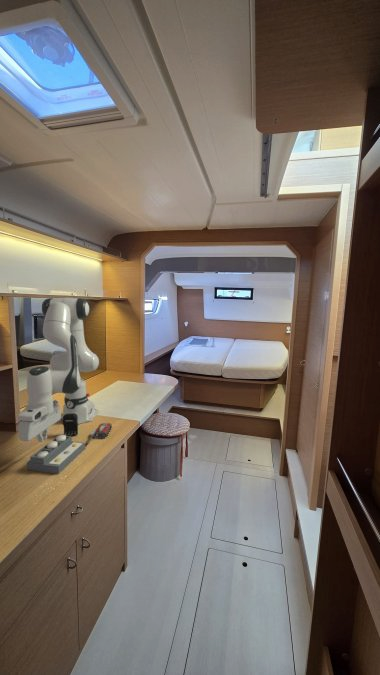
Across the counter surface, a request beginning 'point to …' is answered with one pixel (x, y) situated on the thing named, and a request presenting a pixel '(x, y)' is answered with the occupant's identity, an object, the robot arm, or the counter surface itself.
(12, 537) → the counter surface
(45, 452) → the button
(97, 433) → the walkie-talkie
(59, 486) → the counter surface
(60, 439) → the button
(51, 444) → the middle button
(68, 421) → the battery charger
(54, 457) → the pattern board
